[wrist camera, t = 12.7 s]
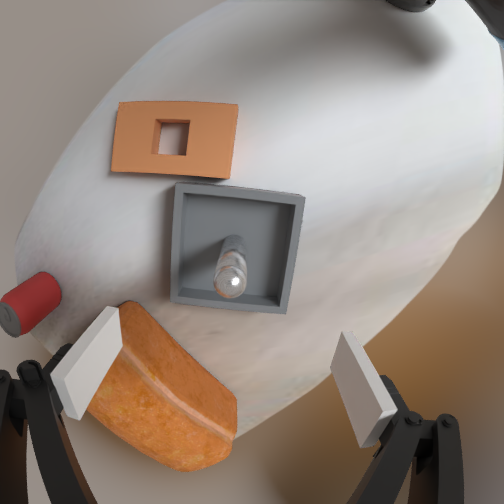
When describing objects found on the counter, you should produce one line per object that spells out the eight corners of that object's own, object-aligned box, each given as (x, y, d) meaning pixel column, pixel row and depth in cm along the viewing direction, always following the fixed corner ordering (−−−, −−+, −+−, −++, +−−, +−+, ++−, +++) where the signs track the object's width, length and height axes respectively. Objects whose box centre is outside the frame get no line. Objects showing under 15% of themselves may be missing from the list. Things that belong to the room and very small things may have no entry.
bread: (189, 424, 48) (178, 488, 32) (86, 332, 41) (41, 389, 26) (244, 397, 46) (246, 470, 30) (135, 290, 39) (87, 350, 24)
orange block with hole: (238, 109, 33) (237, 104, 30) (229, 178, 35) (228, 178, 33) (127, 106, 32) (119, 102, 29) (120, 170, 34) (110, 171, 32)
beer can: (60, 273, 38) (16, 304, 27) (65, 309, 40) (27, 345, 28) (33, 268, 38) (-11, 295, 26) (38, 302, 40) (0, 334, 28)
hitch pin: (247, 236, 37) (249, 273, 24) (244, 258, 37) (245, 305, 24) (223, 233, 36) (212, 269, 23) (221, 256, 37) (210, 302, 24)
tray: (298, 194, 36) (305, 197, 32) (282, 300, 40) (285, 314, 36) (182, 181, 35) (175, 183, 31) (176, 289, 39) (170, 302, 36)
